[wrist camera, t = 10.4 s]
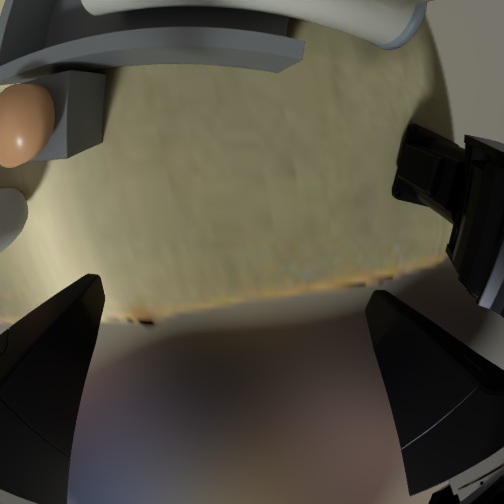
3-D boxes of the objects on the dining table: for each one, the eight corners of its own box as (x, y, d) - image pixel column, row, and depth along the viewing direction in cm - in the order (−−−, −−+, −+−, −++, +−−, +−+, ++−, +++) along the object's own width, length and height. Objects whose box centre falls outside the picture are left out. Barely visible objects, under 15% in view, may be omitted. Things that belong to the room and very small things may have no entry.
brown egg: (90, 77, 12) (41, 75, 7) (87, 143, 14) (39, 164, 9) (40, 88, 11) (-13, 94, 6) (39, 147, 13) (-11, 171, 9)
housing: (298, -54, 8) (322, -92, 3) (265, 149, 17) (283, 171, 12) (69, -39, 6) (33, -61, 1) (36, 148, 15) (-13, 171, 10)
